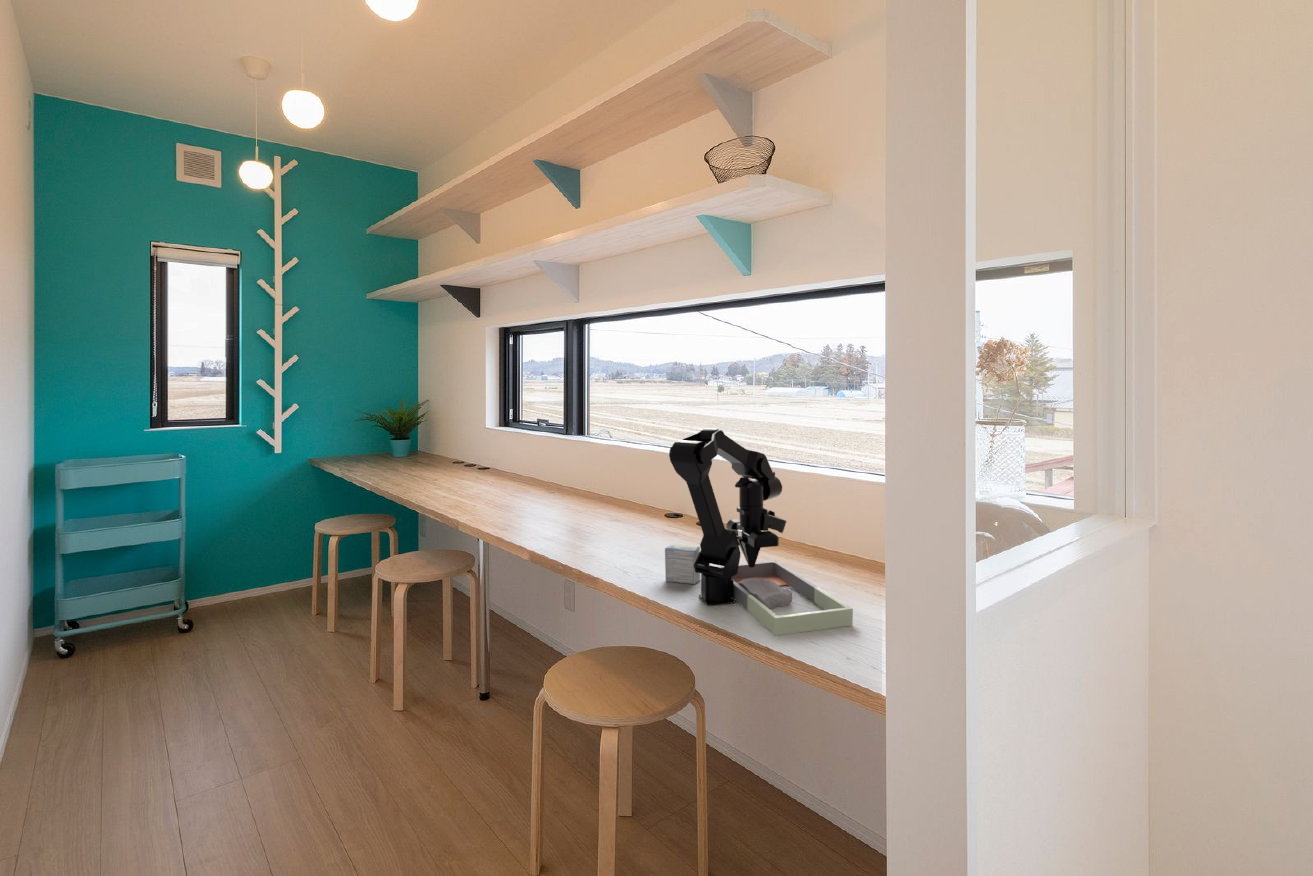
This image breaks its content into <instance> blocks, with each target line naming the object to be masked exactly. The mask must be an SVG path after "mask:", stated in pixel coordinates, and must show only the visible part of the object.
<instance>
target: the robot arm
mask: <svg viewBox="0 0 1313 876" xmlns="http://www.w3.org/2000/svg"><path fill="white" fill-rule="evenodd" d="M668 452H669V453H668V456H669V460H670V463H671V465H672V468H673V469H674V471H675V473H676V474H677V475H679V477H681V478H682V480H684V481H685V482H686V485H687V488H688V491H689V494H690V497H691V500H692V504H693V506H694V509H695V513H696V515H697V519H698V522H699V525H700V528H701V530H702V531H701V532H702V537H701V541H700V545H699V547H700V553H699V555H698V557H697V559H696V561H695V563H694V569H695V572H696V573H700V585H701V586H700V588H701V589H700V594H698V597H699V599H701V601H702V602H703V603H705V605H706V606H715V605H716V606H718V605H727V604H734V603H735V600H734V599H733V597H734V580H733V579H731V577H732V576H734V575H737V572H738V566H739V564H740V559H741V552H742V554H743V556H744V559H745V561H746V564H748V566H749V567H750V568H752V567H754V566H755V563H757V559H758V556H759V553H760V550H761V549H762V548H763V549H764V548H772V547H778V546H779V545H780V538H779V536H778V535H777V534H776V533H775V532H772V531H771V530H773V531H777V532H778V533H780V534H783V533H784V530H785V527H786V524H787V520H785V519H784V518H781V517H778V516H777V515H776V513H775V512H774V511H773V510H771V509H768V508H764V501H767V500H771V499H774V498H777V497H779V496H780V495H781V494H782V491H783V485H782V482H781V480H780V479H779V477H778V476H776V471H773V470H772V467H771V465H770V463H769V460H768V458H767V456H766V454H765V453H762V452H759V451H756V450H750V449H746V448H745V447H744V446H742V445H741V444H740V443H739V442H736V441H735V440H734V439H732V438H731V437H729V436H728V435H727V434H725V432H724V431H723V430H721V429H719V428H702V429H700V430H698V431H697V432H696V433H693V434H691V435H690V434H689V435H687V436H686V437H683V438H681V439H679V440H678V439H677V440H676V441H674V443H673V444H672V446H671V447H670V448H669V451H668ZM717 456H720V457H721V458H722V459H724V460H725V461H727V462H729V464H731V469H732V471H734V472H735V474H737V475H738V476H741V477H740V478H739V480H738V481H736V483H735V484H734V487H735V488H739V492H738V493H739V494H738V495H739V497H738V499H739V501H738V502H739V503H738V504H739V506H737V507H736V512H738V513H739V518H738V519H737V518H736V519H734V518H733V519H729V520H728V521H727V523H726V528H725V525H724V521H723V519H722V518H723V517H722V514H721V511H720V508H719V506H718V502H717V499H716V496H715V495H716V494H715V492H714V489H713V486H712V485H713V484H712V483H711V480H710V475H709V474H710V472H711V468H712V465H713V461H712V460H713V459H714V458H716V457H717ZM769 529H771V530H769ZM736 531H737V532H738V533H736ZM737 534H738V535H737ZM710 564H712V565H710ZM714 565H715V566H714ZM718 566H724V568H719V567H718Z"/></svg>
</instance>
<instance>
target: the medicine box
mask: <svg viewBox="0 0 1313 876" xmlns="http://www.w3.org/2000/svg"><path fill="white" fill-rule="evenodd" d="M700 551H701V547H700V545H690V544H689V545H688V544H679V543H678V544H677V543H670V544H669V545H667V546H666V547H665V548H664V560H665V561H664V567H665V568H664V569H665V574H664V575H665V582H668V583H669V582H670V583H680V584H691V585H696V584H697V583H698V582H699V581H701V573H696V572H695V569H694V563H695V561H696V559H697V557H698V555H699V553H700Z"/></svg>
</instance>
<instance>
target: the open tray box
mask: <svg viewBox="0 0 1313 876" xmlns="http://www.w3.org/2000/svg"><path fill="white" fill-rule="evenodd" d="M717 567H719V568H724V566H720V565H717ZM756 577H757V578H766V579H769V580H771V581H773V582H775V583H776V584H778V585H779V586H780V587H785V586H788V587H790V588H792V590H794V591H796V592H798V593H799V594H800V595H801V596H803V597H804V598H806V599H807V600H809V601H811V603H813V604H815V605H816V606H818V607H819V608H821V610H815V611H807V612H798V613H791V614H790V613H789V614H783V615H777V614H776V613H775V612H774V611H772V609H769V608H767V607H766V606H765V605H764V604H762V603H761V602H760V601H759V600H757V599H756V598H755V597H754V596H752V595H751V594H750V593H749V592H747V591H746V590H745V589H744V588H742V587H741V586H740V585H739V582H740V581H742V580H745V579H748V578H756ZM731 579H733V580H734V597H733V599H734V602H737V603H738V604H739V605H740V606H741V607H742V608H743V609H745V611H747V612H748V613H749V614H750V615H751V616H752V617H754V619H756V620H757V621H758V622H759V623H760V624H762V625H763V626H764V627H765V628H766V629H767V630H768V631H770V633H772V634H773V635H774V636H781V635H783V636H784V635H788V634H789V635H791V634H796V633H806V632H812V631H813V632H814V631H820V630H829V629H836V628H842V627H851V626H854V625H853V623H854V622H853V621H854V620H853V618H854V613H853V612H854V609H853V607H850V606H849V605H848V604H846V603H844V602H843V601H841V600H839V599H838V598H836V597H835V596H833V595H831V594H830V593H828V592H827V591H825V590H824V589H822V588H821V587H819V586H817V585H816V584H813V583H812V582H811V581H809V580H808V579H806V578H805V577H802V576H801V575H800V574H798V573H797V572H795V571H794V570H791V569H789V568H788V567H787V566H785V565H783V564H782V563H780V562H778V561H777V560H771V561H760V562H756V563H755V566H754V567H752V568H750V567H749V566H748V563H741V564H740V563H739V566H738V572H737V575H734V576H732V577H731Z"/></svg>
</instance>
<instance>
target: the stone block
mask: <svg viewBox="0 0 1313 876" xmlns="http://www.w3.org/2000/svg"><path fill="white" fill-rule="evenodd" d="M739 585H740V586H741V587H742V588H744V589H745V590H746V591H747V592H749V593H750V594H751V595H752V596H754V597H755V598H756V599H757V600H759V601H760V602H761V603H762V604H764V605H765V606H766V607H767V608H769V609H770V610H774V609H777V608H785V607H786V608H787V607H788V606H789V605H791V603H792V601H793V591H791V590H790V589H788V588H784V587H783V586H779V585H778V584H776V583H775V582H773V581H771V580H769V579H766V578H757V577H756V578H748V579H745V580H742V581H740V582H739Z"/></svg>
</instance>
